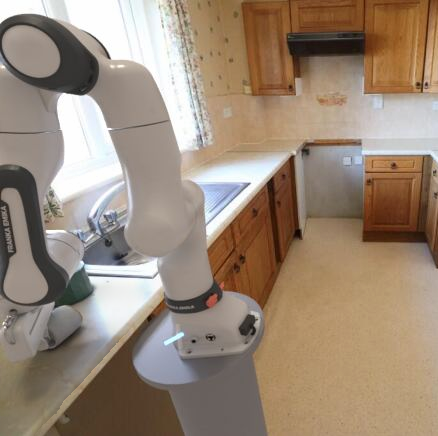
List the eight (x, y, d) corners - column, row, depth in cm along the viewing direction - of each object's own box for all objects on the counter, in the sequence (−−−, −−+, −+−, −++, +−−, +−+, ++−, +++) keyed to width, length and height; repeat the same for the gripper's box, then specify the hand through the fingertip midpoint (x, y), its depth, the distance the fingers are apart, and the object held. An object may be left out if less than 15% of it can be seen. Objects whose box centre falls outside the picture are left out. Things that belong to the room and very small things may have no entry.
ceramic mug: (89, 325, 84) (78, 302, 81) (61, 350, 77) (48, 325, 74) (55, 323, 86) (43, 300, 83) (24, 347, 79) (10, 322, 75)
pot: (100, 285, 101) (91, 262, 97) (73, 307, 92) (62, 282, 88) (71, 284, 102) (61, 261, 98) (42, 305, 93) (29, 281, 89)
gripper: (23, 322, 61) (52, 373, 67) (48, 270, 77) (69, 314, 83) (-22, 335, 58) (13, 387, 64) (14, 278, 75) (39, 323, 81)
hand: (45, 346), depth 74 cm, fingers closed
